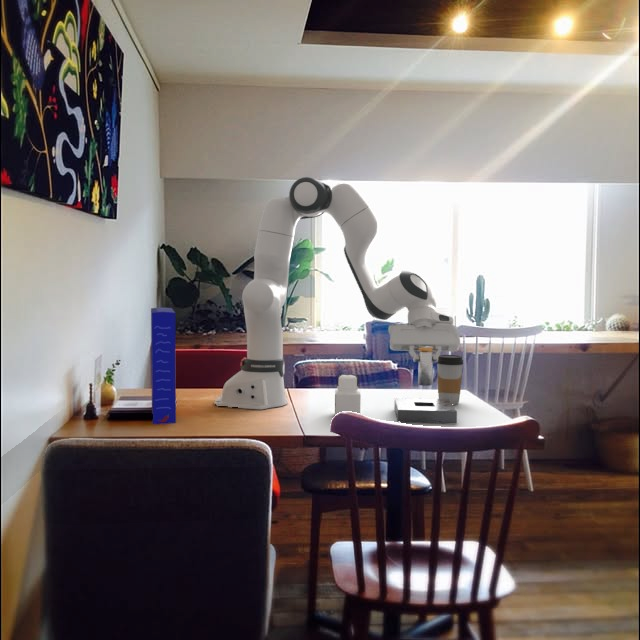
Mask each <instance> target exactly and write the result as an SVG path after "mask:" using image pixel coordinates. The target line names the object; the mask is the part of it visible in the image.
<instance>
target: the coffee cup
mask: <svg viewBox="0 0 640 640" xmlns="http://www.w3.org/2000/svg"><path fill="white" fill-rule="evenodd" d="M463 365H464V359H463V356H461V355H458V354H440V355H439V357H438V362H436V367H437V373H436V374H437V376H436V377H437V393H438V399H448V400H449V401H450V402H451V404H456V405H458V404H459V402H460V397H461V390H462V377H463V374H462V373H463V368H464V367H463ZM457 403H458V404H457Z"/></svg>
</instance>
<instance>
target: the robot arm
mask: <svg viewBox="0 0 640 640" xmlns="http://www.w3.org/2000/svg"><path fill="white" fill-rule="evenodd" d="M288 193H289V196H286V197H283V196H276V197H275V196H274V197H272V198H270V199H268V200H267V202H266V203H265V205H264V208H263V211H262V215H261V218H260V221H259V224H258V226H259V227H258V230H257V236H256V242H255V249H254V254H253V258H254V270H253V271H254V274H253V279H251V280H250V281H249V282H248V283H247V284H246V285H245V287H244V289H243V291H242V294H241V296H242V297H241V299H242V303H243V312H244V319H245V326H246V356H247V357H243V358H242V359H241V361H240V369H241V370H239V371H238V372H236V373H235V374H234V375H233V376H231V377H230V378H229V379H228V380H226V382H225V383H224V385H223V388H222V392H221V396H219V397H217V398H215V400H214V405H215V404H216V405H217V406H216V407H218V406H228V407H227V408H232V407H238V408H237V409H246V410H247V409H249V410H266V409H270V408H271V409H272V408H278V407H283V406H285V405H287V404H288V399H287V395H286V389H285V382H284V376H285V368H286V367H285V358H284V355H283V354H284V353H283V352H284V351H283V350H284V347H283V346H284V339H283V338H284V332H283V327H282V318H281V308H283V307H284V305H285V303H286V301H287V295H288V285H289V274H290V262H291V256H292V249H293V245H294V244H293V243H294V238H295V233H296V227H297V225H298V222H299V221H300V220H303V219H304V220H305V219H313V218H314V219H315V218H318V217H320V216H321V215H323V214H324V213H327V214H329V215H330V216H331V217H332V218H333V219H334V220H335V222H336V224H337V226H338V227H339V228H340V230H341V232H342V234H343V237H344V238H343V239H344V242H345V243H344V244H345V245H344V248H343V253H344V256H345V259H346V261H347V264H348V266H349V268H350V271H351V272H352V275H353V277H354V280H355V281H356V284H357V287H358V288H359V291H360V293H361V294H362V298H363V301H364V305H365V308H366V309H367V312H368V313H369V315H370V316H371V317H373V318H374V319H376V320H377V319H378V320H383V321H387V320H388V319H390V318H391V317H392V316H394V315H395V314H396V313H398V312H399V311H401V310H403V309H405V308H406V309H407V311H408V312H407V323H406V322H402V323H397V322H395V323H394V322H393V324H390V325H389V326H388V328H387V331H388V332H387V333H388V334H389V337H390V338H389V349H390V350H391V351H394V352H395V351H396V352H399V351H401V352H403V351H404V352H408V354H409V355H410V356H411V357H412V359H413V360H412V361H413V363H419V353H416V352H419V346H422V345H426V346H433V352H435V353H433V363H437V362H438V357H439V355H442V353H441V352H458V351H459V349H460V347H461V337H460V334H459V330H458V328H457V326H456V325H455V324H454V318H453V316H451V315H447V314H443V313H439V312H437V310H436V307H437V302H436V300H437V299H436V294H435V291H434V288H433V285H432V284H431V282H430V281H429V280H428V279H426V278H424V277H421V276H420V275H418V274H417V273H414V272H411V271H409V270H402V271H400V272H398V273H397V274H395V275H393V276H392V277H390V278H389V279H387V280H386V281H385V282H383V283H381V284H380V285H379V286H378V285H377V284H376V283H377V282H376V281H375V279H374V277H373V275H372V273H371V270H370V268H369V266H368V263H367V255H368V252H369V251H370V248H371V247H372V245H373V244H374V242H375V240H376V238H377V236H378V233H379V230H380V229H379V228H380V222H379V219H378V217H377V214H376V213H375V211H374V209H373V208H372V207H371V205H370V204H369V202H368V201H367V200H366V198H365V197H364V196H363V195H362V194H361V192H360V191H359V190H358V189H357V188H356V187H355V186H354V185H353V184H352V183H350V182H340V183H338V184H336V185H334V186H332V187H331V186H330V185H328V184H326V183H325V182H322V181H321V180H319V179H317V178H314V177H311V176H305V177H301V178H299V179H297V180H295V182H293V184H292V185H291V187H290V189H289V192H288Z"/></svg>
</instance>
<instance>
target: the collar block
mask: <svg viewBox="0 0 640 640" xmlns="http://www.w3.org/2000/svg"><path fill="white" fill-rule="evenodd" d="M393 405H394V410H393V411H394V413H395V418H396V420H397V422H398V421H400V422H399V423H409V424H411V423H414V424H415V423H416V424H444V423H457V422H458V419H457V418H458V411H457V409H456V408H455V406H454V405H452V404H451V402H450V401H449V400H448V399H439V398H408V397H407V398H403V397H394V403H393Z"/></svg>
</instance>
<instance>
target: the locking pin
mask: <svg viewBox="0 0 640 640" xmlns="http://www.w3.org/2000/svg"><path fill="white" fill-rule="evenodd" d="M418 354H419V362H418V369H417V370H418V376H417V380H418V381H417V385H419V386H425V387H427V386H433V372H434V371H433V367H434V366H433V365H434V362H433V354H434V351H433V346H426V345H422V346H419V351H418Z"/></svg>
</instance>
